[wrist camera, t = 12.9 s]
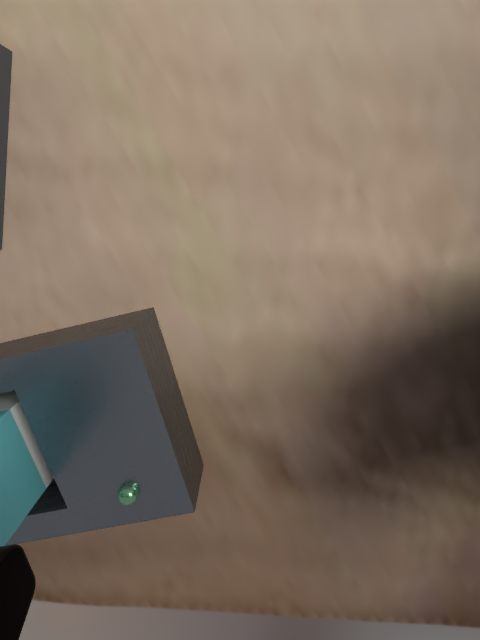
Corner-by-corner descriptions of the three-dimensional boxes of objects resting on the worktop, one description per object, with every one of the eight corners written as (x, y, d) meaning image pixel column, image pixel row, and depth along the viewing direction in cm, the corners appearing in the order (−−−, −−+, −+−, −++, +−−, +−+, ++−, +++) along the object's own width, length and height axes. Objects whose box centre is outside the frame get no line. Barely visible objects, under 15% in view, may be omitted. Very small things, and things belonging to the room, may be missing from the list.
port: (153, 307, 19) (128, 333, 15) (203, 465, 22) (192, 521, 18) (-94, 365, 21) (-175, 403, 17) (-20, 507, 23) (-75, 568, 19)
